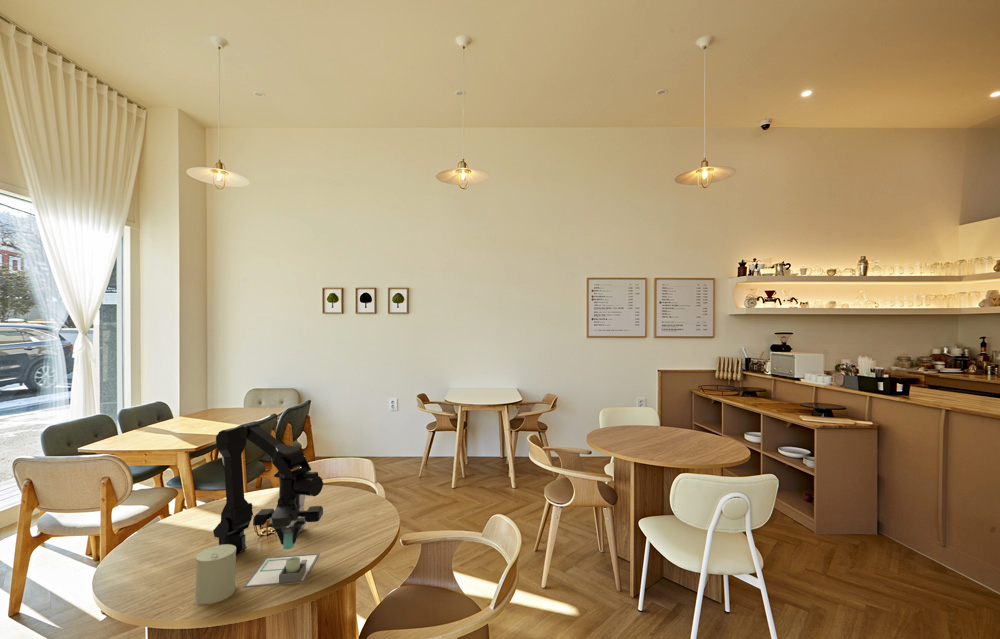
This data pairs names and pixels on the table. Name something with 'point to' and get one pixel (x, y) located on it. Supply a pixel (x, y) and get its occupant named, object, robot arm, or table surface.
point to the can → (215, 574)
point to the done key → (293, 565)
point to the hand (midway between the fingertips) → (288, 543)
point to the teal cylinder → (288, 537)
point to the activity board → (281, 571)
